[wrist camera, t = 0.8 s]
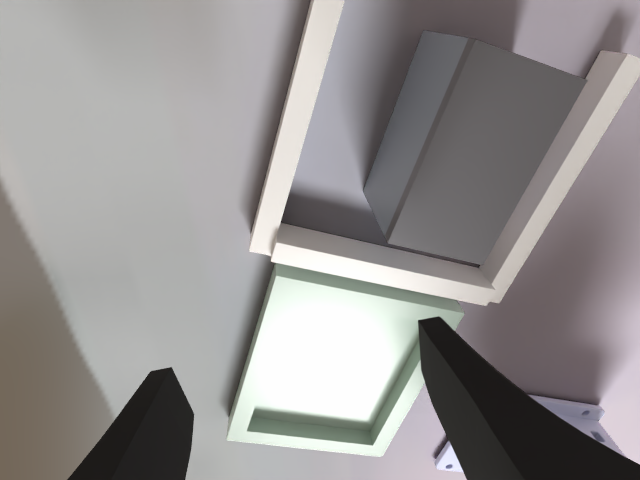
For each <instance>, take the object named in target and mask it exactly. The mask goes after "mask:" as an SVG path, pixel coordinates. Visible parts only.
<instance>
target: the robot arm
mask: <svg viewBox="0 0 640 480" xmlns="http://www.w3.org/2000/svg"><path fill="white" fill-rule="evenodd" d="M418 329H419V344H420V360H421V371H422V375H423V378H424V381H425V384H426V387H427V390H428V393H429V396H430V399H431V402H432V404H433V407H434V409H435V411H436V413H437V415H438V418H439V420H440V422H441V424H442V426H443V429H444V431H445V433H446V435H447V437H448V439H449V441H448V442H447V443H446V445H445V446H444V448H443V449H442V451H441V452H440V454H439V455H438V457H437V458H436V460H435V462H434V463H435V466H436V468H437V469H439V470H447V471H457V472H464V474H465V476H466V478H467V480H640V465H639V464H638V463H636V462H634V461H632V460H630V459H628V458H626V457H625V455H624V454H623V453H622V451H621V450H620V449H619V448H618V446H617V445H616V444H615V442H614V441H613V440H612V438H611V437H610V436H609V435H608V433H607V432H606V431H605V429H604V428H603V427H602V426H601V424H600V423H599V422H598V421H599V420H600V419H601V417H602V416H603V415H604V412H605V411H604V410H603V409H602V407H601V406H598V405H591V404H585V403H579V402H572V401H566V400H559V399H553V398H547V397H540V396H534V395H528V394H526V393H525V392H524V391H522V390H521V389H520V388H518V387H517V386H516V385H515V384H513V383H512V382H511V381H510V380H508V379H507V378H506V377H505V376H503V375H502V374H501V373H500V372H499V371H497V370H496V369H495V368H494V367H493V366H492V365H491V364H489V363H488V362H487V361H486V360H485V359H484V358H483V357H481V356H480V355H479V354H478V353H477V352H476V351H475V350H474V349H473V348H472V347H471V346H469V345H468V344H467V343H466V342H465V341H464V340H463V339H462V338H461V337H460V336H459V335H458V334H457V333H456V332H455V331H454V330H453V329H452V328H451V327H450V326H449V325H448V324H447V323H446V322H445V321H444V320H443V319H442V318H441V317H439V316H437V317H432V318H427V319H422V320H418ZM193 421H194V413H193V411H192V409H191V407H190V404H189V402H188V400H187V398H186V396H185V394H184V392H183V390H182V388H181V386H180V384H179V382H178V380H177V377H176V375H175V373H174V371H173V369H172V367H171V368H165V369H160V370H155V371H151V372H150V373H149V374H148V376H147V377H146V378H145V380H144V381H143V382H142V384H141V385H140V387H139V388H138V389H137V391H136V392H135V393H134V395H133V396H132V397H131V399H130V400H129V402H128V403H127V404H126V406H125V407H124V408H123V410H122V411H121V413H120V414H119V415H118V417H117V418H116V419H115V421H114V422H113V423H112V425H111V426H110V427H109V429H108V430H107V431H106V433H105V434H104V435H103V436H102V438H101V439H100V440H99V442H98V443H97V444H96V445H95V447H94V448H93V449H92V450H91V451H90V453H89V454H88V455H87V456H86V458H85V459H84V460H83V461H82V463H81V464H80V465H79V466H78V467H77V469H76V470H75V471H74V472H73V474H72V475H71V476H70V477H69V478H68V480H185V477H186V472H187V467H188V463H189V458H190V452H191V445H192V435H193Z"/></svg>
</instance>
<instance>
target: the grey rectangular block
mask: <svg viewBox="0 0 640 480" xmlns="http://www.w3.org/2000/svg"><path fill="white" fill-rule="evenodd" d="M587 81H588V80H586V79H583V78H581V77H578V76H575V75H572V74H570V73H567V72H564V71H562V70H559V69H556V68H553V67H551V66H548V65H545V64H542V63H540V62H537V61H534V60H532V59H529V58H526V57H523V56H521V55H518V54H515V53H512V52H510V51H507V50H504V49H502V48H499V47H496V46H493V45H491V44H488V43H485V42H482V41H480V40H477V39H473V38H467V37H461V36H455V35H449V34H443V33H437V32H431V31H425V30H423V33H422V35H421V38H420V41H419V43H418V46H417V49H416V51H415V54H414V57H413V59H412V62H411V65H410V67H409V70H408V73H407V75H406V78H405V81H404V83H403V86H402V89H401V91H400V94H399V97H398V99H397V102H396V105H395V107H394V110H393V113H392V115H391V118H390V121H389V123H388V126H387V129H386V131H385V134H384V137H383V139H382V142H381V145H380V147H379V150H378V153H377V155H376V158H375V161H374V163H373V166H372V169H371V171H370V174H369V176H368V179H367V182H366V184H365V187H364V190H363V193H364V195H365V197H366V199H367V201H368V203H369V205H370V207H371V209H372V212H373V214H374V216H375V218H376V220H377V222H378V224H379V226H380V228H381V231H382V233H383V235H384V237H385V239H386V241H387V243H388V244H392V245H397V246H401V247H405V248H410V249H414V250H418V251H423V252H427V253H432V254H436V255H440V256H445V257H449V258H453V259H458V260H462V261H466V262H471V263H475V264H479V265H483V264H484V263H485V261H486V259H487V257H488V255H489V254H490V252H491V250H492V248H493V247H494V245H495V243H496V241H497V240H498V238H499V236H500V234H501V233H502V231H503V229H504V227H505V225H506V224H507V222H508V220H509V218H510V217H511V215H512V213H513V211H514V210H515V208H516V206H517V204H518V203H519V201H520V199H521V197H522V195H523V194H524V192H525V190H526V188H527V187H528V185H529V183H530V181H531V180H532V178H533V176H534V174H535V173H536V171H537V169H538V167H539V165H540V164H541V162H542V160H543V158H544V157H545V155H546V153H547V151H548V150H549V148H550V146H551V144H552V143H553V141H554V139H555V137H556V135H557V134H558V132H559V130H560V128H561V127H562V125H563V123H564V121H565V120H566V118H567V116H568V114H569V112H570V111H571V109H572V107H573V105H574V104H575V102H576V100H577V98H578V97H579V95H580V93H581V91H582V90H583V88H584V86H585V84H586V82H587Z"/></svg>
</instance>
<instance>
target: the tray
mask: <svg viewBox="0 0 640 480" xmlns="http://www.w3.org/2000/svg"><path fill="white" fill-rule="evenodd" d="M464 314H465V313H464V311H463V310H462V308H461V306H460V305H459V303H458V302H457V300H454V299H449V298H444V297H440V296H435V295H430V294H425V293H420V292H415V291H410V290H406V289H401V288H396V287H391V286H386V285H381V284H377V283H372V282H367V281H362V280H357V279H352V278H347V277H343V276H338V275H333V274H328V273H323V272H318V271H313V270H309V269H304V268H299V267H294V266H289V265H284V264H280V263H275V265H274V268H273V271H272V275H271V278H270V281H269V285H268V288H267V292H266V295H265V298H264V302H263V305H262V308H261V312H260V315H259V318H258V322H257V325H256V329H255V332H254V335H253V339H252V342H251V345H250V349H249V352H248V356H247V359H246V362H245V366H244V369H243V372H242V376H241V379H240V382H239V386H238V389H237V393H236V396H235V399H234V403H233V406H232V409H231V413H230V416H229V421H228V430H227V439H226V440H228V441H238V442H247V443H256V444H265V445H275V446H284V447H293V448H303V449H312V450H321V451H331V452H340V453H349V454H358V455H368V456H377V457H382V456H383V454H384V452H385V451H386V449H387V447H388V445H389V444H390V442H391V440H392V439H393V437H394V435H395V433H396V432H397V430H398V428H399V426H400V425H401V423H402V421H403V420H404V418H405V416H406V414H407V413H408V411H409V409H410V407H411V406H412V404H413V402H414V401H415V399H416V397H417V395H418V394H419V392H420V390H421V388H422V387H423V385H424V383H425V381H424V378H423V375H422V371H421V360H420V344H419V329H418V320H422V319H427V318H432V317H437V316H439V317H441V318H442V319H443V320H444V321H445V322H446V323H447V324H448V325H449V326H450V327H451V328H452V329H453V330H454V331H455V330H456V328H457V326H458V324H459V323H460V321H461V319H462V318H463V316H464Z"/></svg>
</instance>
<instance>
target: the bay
mask: <svg viewBox="0 0 640 480" xmlns="http://www.w3.org/2000/svg"><path fill="white" fill-rule="evenodd" d="M344 1H345V0H311V2H310V6H309V10H308V14H307V18H306V22H305V26H304V29H303V33H302V37H301V41H300V45H299V49H298V53H297V57H296V61H295V64H294V68H293V72H292V76H291V80H290V84H289V88H288V92H287V96H286V100H285V103H284V107H283V111H282V115H281V119H280V123H279V127H278V131H277V135H276V139H275V142H274V146H273V150H272V154H271V158H270V162H269V166H268V170H267V174H266V177H265V181H264V185H263V189H262V193H261V197H260V201H259V205H258V209H257V213H256V216H255V220H254V224H253V228H252V232H251V237H250V246H249V251H250V252H255V253H260V254H265V255H269V256H271V262H275V263H280V264H284V265H289V266H294V267H299V268H304V269H309V270H313V271H318V272H323V273H328V274H333V275H338V276H343V277H347V278H352V279H357V280H362V281H367V282H372V283H377V284H381V285H386V286H391V287H396V288H401V289H406V290H410V291H415V292H420V293H425V294H430V295H435V296H440V297H444V298H449V299H454V300H459V301H464V302H469V303H473V304H478V305H483V306H487V305H488V303H489V302H494V303H500V301H501V300H502V298H503V296H504V295H505V293H506V291H507V290H508V288H509V287H510V285H511V283H512V282H513V280H514V279H515V277H516V275H517V274H518V272H519V270H520V269H521V267H522V266H523V264H524V262H525V261H526V259H527V257H528V256H529V254H530V253H531V251H532V249H533V248H534V246H535V244H536V243H537V241H538V240H539V238H540V236H541V235H542V233H543V232H544V230H545V228H546V227H547V225H548V223H549V222H550V220H551V219H552V217H553V215H554V214H555V212H556V210H557V209H558V207H559V206H560V204H561V202H562V201H563V199H564V197H565V196H566V194H567V193H568V191H569V189H570V188H571V186H572V184H573V183H574V181H575V180H576V178H577V176H578V175H579V173H580V172H581V170H582V168H583V167H584V165H585V163H586V162H587V160H588V159H589V157H590V155H591V154H592V152H593V150H594V149H595V147H596V146H597V144H598V142H599V141H600V139H601V137H602V136H603V134H604V133H605V131H606V129H607V128H608V126H609V125H610V123H611V121H612V120H613V118H614V116H615V115H616V113H617V112H618V110H619V108H620V107H621V105H622V103H623V102H624V100H625V99H626V97H627V95H628V94H629V92H630V90H631V89H632V87H633V86H634V84H635V82H636V81H637V79H638V77H639V76H640V58H637V57H635V56H632V55H630V54H626V53H618V52H611V51H604V50H601V51H600V53H599V55H598V57H597V59H596V60H595V62H594V64H593V66H592V67H591V69H590V71H589V73H588V75H587V76H586V78H585V79H586V80H588V81H587V82H586V84H585V86H584V88H583V90H582V91H581V93H580V95H579V97H578V98H577V100H576V102H575V104H574V105H573V107H572V109H571V111H570V112H569V114H568V116H567V118H566V120H565V121H564V123H563V125H562V127H561V128H560V130H559V132H558V134H557V135H556V137H555V139H554V141H553V143H552V144H551V146H550V148H549V150H548V151H547V153H546V155H545V157H544V158H543V160H542V162H541V164H540V165H539V167H538V169H537V171H536V173H535V174H534V176H533V178H532V180H531V181H530V183H529V185H528V187H527V188H526V190H525V192H524V194H523V195H522V197H521V199H520V201H519V203H518V204H517V206H516V208H515V210H514V211H513V213H512V215H511V217H510V218H509V220H508V222H507V224H506V225H505V227H504V229H503V231H502V233H501V234H500V236H499V238H498V240H497V241H496V243H495V245H494V247H493V248H492V250H491V252H490V254H489V255H488V257H487V259H486V261H485V263H484V264H483V265H480V267H479V268H477V267H472V266H468V265H464V264H459V263H455V262H451V261H446V260H442V259H437V258H433V257H429V256H424V255H420V254H415V253H411V252H407V251H402V250H398V249H394V248H389V247H385V246H380V245H376V244H372V243H367V242H363V241H359V240H354V239H350V238H345V237H341V236H337V235H332V234H328V233H324V232H319V231H315V230H310V229H306V228H302V227H297V226H293V225H289V224H284V223H281V219H282V216H283V212H284V209H285V205H286V202H287V198H288V195H289V191H290V188H291V184H292V181H293V178H294V174H295V171H296V167H297V164H298V160H299V157H300V153H301V150H302V146H303V143H304V139H305V136H306V133H307V129H308V126H309V122H310V119H311V115H312V112H313V108H314V105H315V101H316V98H317V95H318V91H319V88H320V84H321V81H322V77H323V74H324V70H325V67H326V63H327V60H328V56H329V53H330V50H331V46H332V43H333V39H334V36H335V32H336V29H337V25H338V22H339V18H340V15H341V12H342V8H343V5H344Z"/></svg>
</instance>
